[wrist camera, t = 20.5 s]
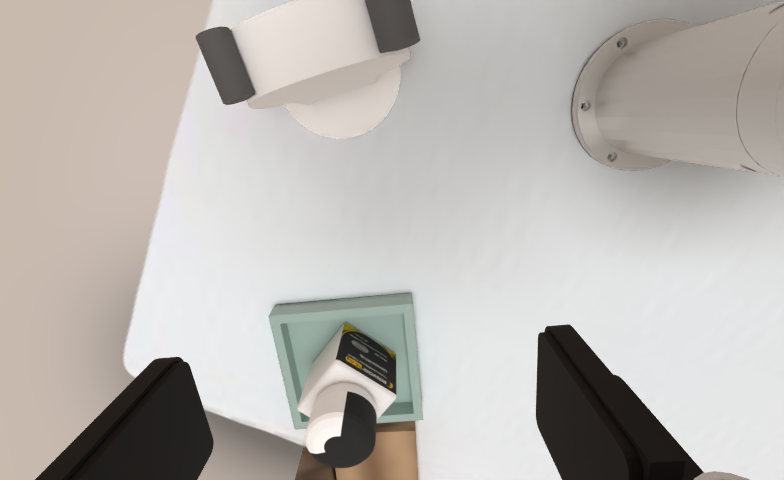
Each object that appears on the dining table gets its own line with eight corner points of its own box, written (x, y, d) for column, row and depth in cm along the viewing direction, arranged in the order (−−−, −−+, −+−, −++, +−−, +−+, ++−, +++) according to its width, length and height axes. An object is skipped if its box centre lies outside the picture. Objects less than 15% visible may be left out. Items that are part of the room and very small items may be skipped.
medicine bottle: (397, 353, 42) (398, 441, 31) (361, 394, 44) (350, 491, 32) (345, 320, 41) (326, 399, 29) (310, 364, 43) (280, 454, 31)
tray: (411, 292, 40) (412, 303, 38) (421, 403, 45) (423, 419, 43) (275, 304, 41) (268, 316, 38) (299, 413, 45) (294, 429, 43)
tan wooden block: (414, 411, 46) (415, 430, 43) (418, 482, 50) (419, 505, 47) (334, 415, 46) (329, 434, 43) (344, 485, 50) (341, 508, 47)
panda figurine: (386, -21, 31) (379, -137, 17) (422, 115, 35) (442, 114, 20) (255, 26, 32) (145, -45, 18) (302, 153, 36) (241, 177, 21)
